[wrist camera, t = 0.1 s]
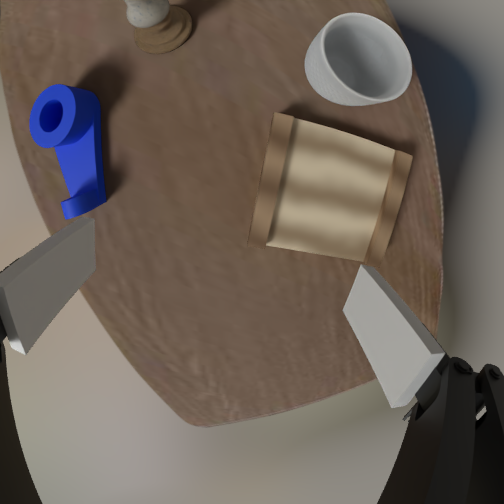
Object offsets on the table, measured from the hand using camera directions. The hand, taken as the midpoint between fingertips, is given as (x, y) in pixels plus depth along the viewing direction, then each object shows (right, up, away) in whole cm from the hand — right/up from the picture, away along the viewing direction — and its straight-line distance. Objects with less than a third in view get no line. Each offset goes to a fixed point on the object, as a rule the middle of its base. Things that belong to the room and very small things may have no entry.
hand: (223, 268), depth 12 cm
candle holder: (-12, +33, +16) cm, 39 cm away
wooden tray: (+12, +10, +27) cm, 31 cm away
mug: (+14, +27, +20) cm, 36 cm away
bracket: (-25, +17, +22) cm, 38 cm away
